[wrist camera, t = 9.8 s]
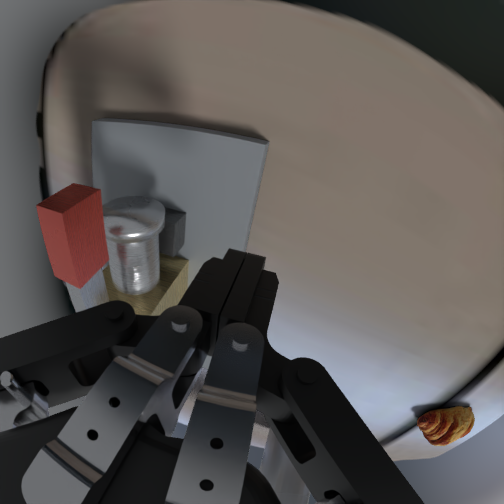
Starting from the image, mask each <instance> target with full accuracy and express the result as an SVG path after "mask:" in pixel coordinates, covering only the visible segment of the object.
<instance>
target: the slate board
mask: <svg viewBox="0 0 504 504" xmlns="http://www.w3.org/2000/svg"><path fill="white" fill-rule="evenodd" d="M268 146H269V141H265V140H261V139H256V138H252V137H247V136H242V135H237V134H232V133H227V132H222V131H216V130H211V129H205V128H198V127H192V126H185V125H178V124H170V123H161V122H152V121H141V120H129V119H112V118H102V119H98V120H94V121H92V175H93V188H98V189H101V198H102V206H103V205H104V204H105V203H107V202H109V201H111V200H114V199H117V198H120V197H126V196H144V197H149V198H153V199H155V200H157V201H159V202H160V203H162V204H163V206H164V207H166V208H170V209H174V210H178V211H182V212H185V213H186V226H185V242H184V245H183V247H182V248H181V249H180V250H179V252H178V253H177V254H176V255H175V256H177V257H181V258H184V259H187V260H189V267H188V287H189V285H190V284H191V282H192V281H193V280H194V278H195V276H196V274H197V273H198V272H199V270H200V268H201V267H202V265H203V263H204V262H206V261H208V260H209V259H211V258H212V257H216V258H220V259H223V258H224V256H225V254H226V252H227V251H228V249H229V248H231V249H235V250H239V251H243V252H246V247H247V243H248V238H249V233H250V229H251V224H252V219H253V215H254V210H255V205H256V201H257V196H258V192H259V187H260V182H261V178H262V173H263V169H264V164H265V160H266V155H267V150H268ZM108 265H109V261H108V262H107V263H106V264H105V265H104V266H103V267H104V269H105V268H106V267H107V266H108ZM211 358H212V356H208V355H207V357H206V359H205V361H204V364H203V366H202V368H205V369H208V368H209V365H210V361H211Z"/></svg>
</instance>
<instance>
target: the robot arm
mask: <svg viewBox="0 0 504 504" xmlns="http://www.w3.org/2000/svg"><path fill="white" fill-rule="evenodd" d="M265 260H266V257H263V256H259V255H255V254H251V253H248V254H247V252H243V251H239V250H235V249H231V248H229V249H228V251H227V252H226V254H225V256H224V258H223V259H220V258H216V257H212V258H211V259H209V260H208V261H206V262H204V263H203V265H202V267H201V268H200V270H199V272H198V273H197V274H196V276H195V278H194V280H193V281H192V282H191V284H190V285H189V287H188V289H187V290H186V292H185V293H184V295H183V297H182V298H181V300H180V302H179V303H178V305H176V306H172V307H169V308H167V309H166V310H164V311H163V312H162V313H161V315H157V316H150V315H138V314H135V311H134V309H133V307H132V306H131V305H130V304H128V303H127V302H124V301H120V300H114V301H109V302H106V303H103V304H100V305H97V306H94V307H91V308H88V309H85V310H82V311H79V312H76V313H74V314H71V315H68V316H65V317H62V318H59V319H56V320H53V321H50V322H47V323H44V324H41V325H39V326H35V327H32V328H29V329H26V330H23V331H20V332H17V333H15V334H12V335H9V336H6V337H3V338H0V504H308V501H309V496H310V492H311V494H312V495H313V497H314V498H315V500H316V501H317V503H315V504H424V503H423V501H422V500H421V498H420V497H419V496H418V494H417V493H416V492H415V490H414V489H413V488H412V486H411V485H410V484H409V482H408V481H407V480H406V478H405V477H404V476H403V475H402V473H401V472H400V470H399V469H398V468H397V466H396V465H395V464H394V462H393V461H392V460H391V458H390V457H389V456H388V454H387V453H386V452H385V450H384V449H383V447H382V446H381V445H380V443H379V442H378V441H377V439H376V438H375V437H374V435H373V434H372V433H371V431H370V430H369V428H368V427H367V426H366V424H365V423H364V422H363V420H362V419H361V417H360V416H359V415H358V413H357V412H356V411H355V409H354V408H353V407H352V405H351V404H350V402H349V401H348V400H347V398H346V397H345V396H344V394H343V393H342V391H341V390H340V389H339V387H338V386H337V384H336V383H335V382H334V380H333V379H332V378H331V376H330V375H329V373H328V372H327V371H326V369H325V368H324V367H323V366H322V365H321V364H320V363H319V362H317V361H315V360H313V359H310V358H302V357H301V358H296V359H293V360H289V359H288V358H286V357H284V356H282V355H281V354H279V353H277V352H276V351H275V350H274V349H273V348H272V347H271V345H270V344H269V342H268V339H267V330H268V326H269V322H270V318H271V314H272V310H273V305H274V301H275V297H276V293H277V289H278V284H279V281H278V278H277V275H276V273H274V272H270V271H266V270H264V265H265ZM207 355H208V356H212V358H211V361H210V365H209V368H208V371H207V375H206V378H205V381H204V384H203V387H202V389H201V390H200V391H199V393H198V395H197V398H196V401H195V404H194V407H193V410H192V414H191V417H190V420H189V423H188V427H187V430H186V433H185V436H184V439H180V438H173V437H171V435H172V433H173V431H174V429H175V427H176V424H177V421H178V416H179V413H180V411H181V409H182V407H183V405H184V403H185V402H186V400H187V398H188V396H189V394H190V392H191V390H192V388H193V387H194V385H195V383H196V381H197V379H198V377H199V375H200V373H201V370H202V366H203V364H204V361H205V359H206V357H207ZM85 395H86V397H85V398H84V400H83V401H82V402H81V404H80V405H79V406H77V407H73V408H71V409H68V410H65V411H63V412H60V413H57V414H54V415H52V416H49V412H48V408H50V407H53V406H56V405H59V404H62V403H65V402H68V401H71V400H74V399H77V398H80V397H82V396H85ZM256 409H257V410H258V411H260V412H262V413H263V414H264V416H265V419H266V420H267V422H268V424H269V426H270V429H269V434H268V438H267V442H266V446H265V450H264V454H263V458H262V462H261V466H260V470H258V469H257V468H255V467H254V466H253V465H252V464H250V463H249V462H247V459H248V454H249V449H250V443H251V438H252V432H253V426H254V420H255V414H256Z"/></svg>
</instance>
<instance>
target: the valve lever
mask: <svg viewBox="0 0 504 504" xmlns="http://www.w3.org/2000/svg"><path fill="white" fill-rule="evenodd" d="M37 211H38V216H39V221H40V225H41V230H42V234H43V238H44V242H45V245H46V249H47V252H48V256H49V259H50V262H51V266H52V268H53V272H54V275H55V276H56V277H58V278H59V279H61V280H63V281H65V282H66V285H67V288H68V291H69V294H70V297H71V299H72V302H73V305H74V308H75V310H76V312H79V311H82V310H85V309H88V308H91V307H94V306H97V305H100V304H103V303H106V302H109V297H108V293H107V289H106V285H105V281H104V276H103V272H102V267H103V266H104V265H105V264H106V263H107V262H108V261H109V254H108V248H107V242H106V234H105V227H104V218H103V209H102V198H101V189H98V188H93V187H88V186H84V185H79V184H75V183H73V184H71V185H69V186H67V187H66V188H64V189H62V190H60V191H59V192H57V193H55V194H54V195H52V196H50V197H49V198H47V199H45V200H44V201H42V202H41V203H39V204H38V205H37Z"/></svg>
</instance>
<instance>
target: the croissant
mask: <svg viewBox="0 0 504 504" xmlns="http://www.w3.org/2000/svg"><path fill="white" fill-rule="evenodd" d="M474 421H475V418H474V414H473V412H472V409H471V407H468V408H467V407H464V408H463V407H462V406H456V407H451V408H447V409H437V410H433V411H429V412H427V413H425V414H424V415H423V416H421V417H419V419H418V421H417V426H419V429H420V431H421V430H422V432H423V435H424V437H425V438H426V439H427V440H428V441H429V443H430V444H432V445H435V446H445V445H447V444H450V443H452V442H454V441H456V440H457V439H459V438H462V437H464V436H465V435H466V434H468V433H469V432H470V431H471V429H472V427H473V425H474Z"/></svg>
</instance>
